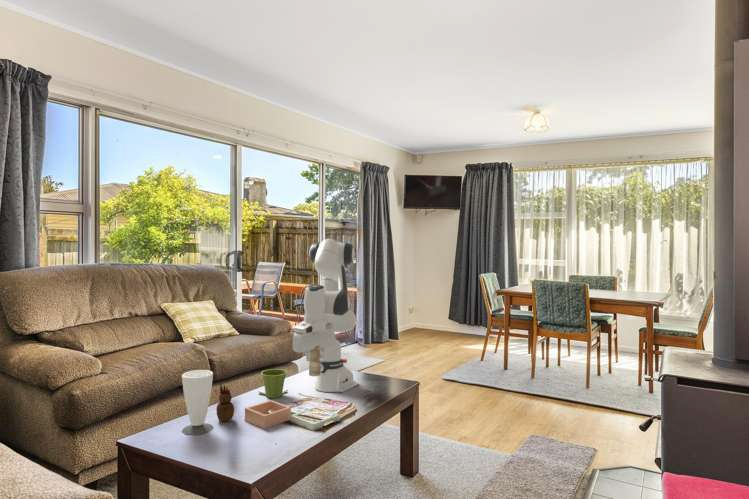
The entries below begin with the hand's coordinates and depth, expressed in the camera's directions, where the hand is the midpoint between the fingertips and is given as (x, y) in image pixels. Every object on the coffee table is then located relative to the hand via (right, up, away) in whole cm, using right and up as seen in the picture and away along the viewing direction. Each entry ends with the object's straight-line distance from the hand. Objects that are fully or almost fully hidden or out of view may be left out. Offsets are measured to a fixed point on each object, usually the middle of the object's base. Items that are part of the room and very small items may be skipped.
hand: (314, 359), depth 200 cm
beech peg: (0, -6, 0) cm, 6 cm away
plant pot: (-23, -24, +31) cm, 45 cm away
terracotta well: (-19, -25, +1) cm, 31 cm away
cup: (-44, -25, -9) cm, 51 cm away
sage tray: (0, -25, +1) cm, 25 cm away
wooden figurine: (-36, -25, 0) cm, 44 cm away
